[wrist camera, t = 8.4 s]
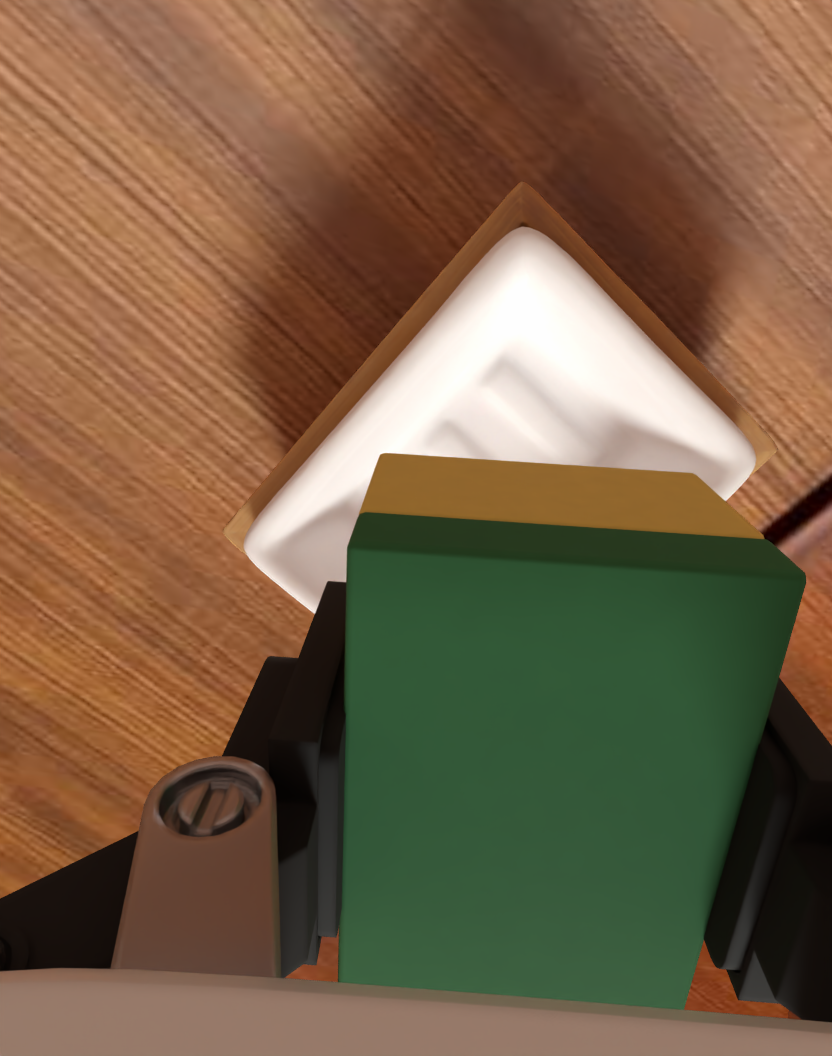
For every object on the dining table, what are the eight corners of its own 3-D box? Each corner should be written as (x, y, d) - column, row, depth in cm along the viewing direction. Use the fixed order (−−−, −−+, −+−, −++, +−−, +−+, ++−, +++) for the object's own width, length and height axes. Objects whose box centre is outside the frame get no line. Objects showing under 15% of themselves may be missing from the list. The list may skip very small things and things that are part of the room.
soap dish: (510, 189, 20) (527, 169, 15) (735, 418, 22) (810, 462, 17) (251, 494, 24) (201, 553, 19) (463, 665, 26) (465, 757, 21)
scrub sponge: (378, 450, 10) (345, 542, 7) (696, 471, 10) (813, 574, 7) (365, 831, 13) (336, 1026, 10) (617, 851, 13) (674, 1055, 10)
